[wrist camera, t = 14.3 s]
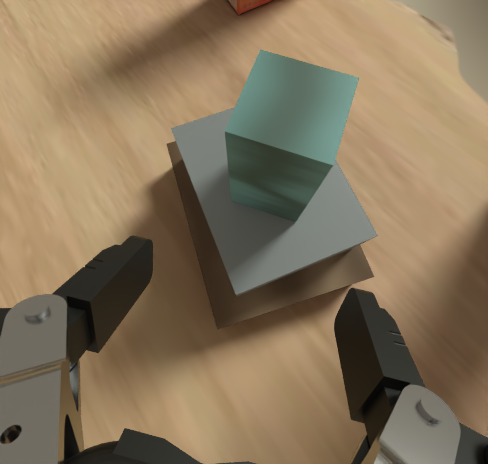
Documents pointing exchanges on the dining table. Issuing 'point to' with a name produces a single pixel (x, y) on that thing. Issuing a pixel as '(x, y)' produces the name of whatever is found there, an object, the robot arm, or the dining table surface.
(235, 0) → the cracker box
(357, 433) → the dining table surface
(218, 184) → the tower top slab
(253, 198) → the teal pillar
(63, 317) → the robot arm
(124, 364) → the dining table surface
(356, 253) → the tower base slab
